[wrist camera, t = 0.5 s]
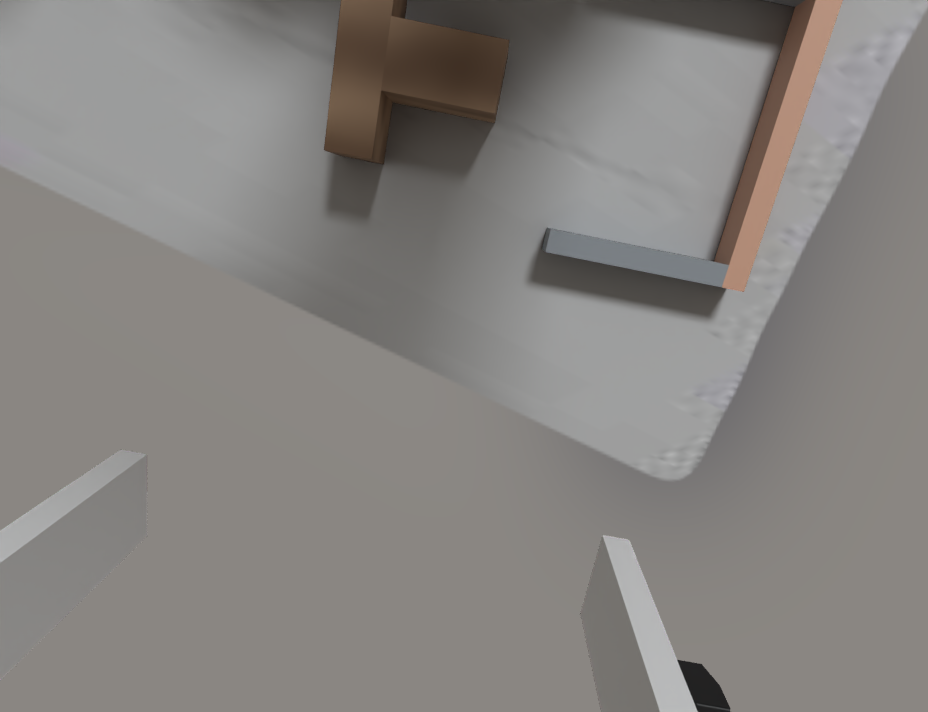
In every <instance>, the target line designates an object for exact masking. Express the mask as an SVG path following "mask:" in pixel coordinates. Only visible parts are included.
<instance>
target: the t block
mask: <svg viewBox="0 0 928 712" xmlns="http://www.w3.org/2000/svg"><path fill="white" fill-rule="evenodd" d="M406 6H407V0H341V6H340V14H339V23H338V32H337V41H336V49H335V58H334V67H333V76H332V85H331V93H330V102H329V111H328V120H327V128H326V137H325V146H324V150H325V151H328V152H331V153H334V154H337V155H340V156H344V157H349V158H354V159H359V160H364V161H369V162H374V163H379V164H384V159H385V152H386V145H387V138H388V131H389V124H390V117H391V110H392V103H397V104H402V105H407V106H412V107H417V108H422V109H427V110H432V111H437V112H442V113H447V114H452V115H457V116H462V117H467V118H472V119H476V120H481V121H486V122H491V123H495V119H496V114H497V109H498V104H499V99H500V93H501V88H502V83H503V78H504V73H505V68H506V62H507V57H508V48H509V40H507V39H502V38H497V37H492V36H487V35H482V34H477V33H472V32H467V31H463V30H458V29H453V28H448V27H443V26H438V25H433V24H428V23H423V22H418V21H413V20H408V19H405V13H406Z"/></svg>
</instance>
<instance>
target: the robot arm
mask: <svg viewBox="0 0 928 712" xmlns="http://www.w3.org/2000/svg"><path fill="white" fill-rule="evenodd" d="M146 537H147V454H143V453H138V452H132V451H127V450H119V451H118V452H116V453H115V454H113V455H112V456H110V457H109V458H107V459H106V460H104V461H103V462H102V463H100V464H98V465H97V466H95V467H94V468H92V469H91V470H89V471H88V472H87V473H85V474H84V475H82V476H81V477H79V478H78V479H76V480H75V481H73V482H72V483H70V484H69V485H67V486H66V487H64V488H63V489H61V490H60V491H58V492H57V493H56V494H54V495H52V496H51V497H50V498H48V499H47V500H45V501H44V502H42V503H41V504H39V505H38V506H36V507H35V508H33V509H32V510H30V511H29V512H27V513H26V514H24V515H23V516H21V517H20V518H18V519H17V520H15V521H14V522H12V523H11V524H10V525H8V526H6V527H5V528H4V529H2V530H1V531H0V680H1V679H2V678H3V677H4V676H5V675H6V674H7V673H8V672H9V671H10V670H11V669H12V668H13V667H14V666H15V665H17V664H18V662H20V661H21V660H22V659H23V658H24V657H25V656H26V655H27V654H28V653H29V652H30V651H31V650H32V649H33V648H34V647H35V646H36V645H37V644H38V643H39V642H40V641H41V640H42V639H43V638H44V637H45V636H46V635H47V634H48V633H49V632H50V631H51V630H52V629H53V628H54V627H55V626H56V625H57V624H58V623H59V622H60V621H61V620H62V619H64V617H66V615H68V614H69V613H70V611H72V610H73V609H74V608H75V607H76V606H77V605H78V604H79V603H80V602H81V601H82V600H83V599H84V598H85V597H86V596H87V595H88V594H89V593H90V592H91V591H92V590H93V589H94V588H95V587H96V586H97V585H98V584H99V583H100V582H101V581H102V580H103V579H104V578H105V577H106V576H107V575H108V574H109V573H110V572H111V571H113V569H115V568H116V566H118V565H119V564H120V563H121V562H122V561H123V560H124V559H125V558H126V557H127V556H128V555H129V554H130V553H131V552H132V551H133V550H134V549H135V548H136V547H137V546H138V545H139V544H140V543H141V542H142V541H143V540H144V539H145V538H146ZM580 614H581V619H582V624H583V629H584V633H585V638H586V643H587V648H588V652H589V657H590V662H591V667H592V671H593V676H594V681H595V685H596V690H597V695H598V700H599V705H600V709H601V712H730V707H729V705H728V703H727V700H726V698H725V696H724V694H723V692H722V690H721V687H720V685H719V684H718V683H717V682H716V681H715V679H714V678H713V677H712V676H711V675H710V674H709V672H708V671H707V670H706V669H705V668H704V667H703V665H702V664H697V663H692V662H686V661H680V660H677V659H676V656H675V654H674V651H673V649H672V646H671V644H670V641H669V639H668V636H667V634H666V631H665V629H664V626H663V623H662V621H661V619H660V616H659V613H658V611H657V609H656V606H655V603H654V601H653V598H652V596H651V593H650V591H649V588H648V586H647V583H646V581H645V578H644V576H643V573H642V571H641V569H640V566H639V563H638V561H637V558H636V556H635V553H634V551H633V548H632V546H631V543H630V541H629V540H628V539H622V538H617V537H611V536H605V535H603V536H602V539H601V542H600V546H599V549H598V553H597V556H596V560H595V563H594V567H593V570H592V574H591V577H590V581H589V584H588V588H587V591H586V595H585V599H584V602H583V606H582V609H581V613H580Z"/></svg>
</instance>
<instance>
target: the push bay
mask: <svg viewBox="0 0 928 712" xmlns="http://www.w3.org/2000/svg"><path fill="white" fill-rule="evenodd" d="M764 1H769V2H774V3H778V4H783V5H788V6H793V7H795V9H794V12H793V15H792V18H791V22H790V25H789V28H788V31H787V34H786V37H785V40H784V43H783V47H782V50H781V53H780V56H779V59H778V62H777V65H776V69H775V72H774V75H773V78H772V81H771V84H770V87H769V90H768V94H767V97H766V100H765V103H764V106H763V109H762V112H761V116H760V119H759V122H758V125H757V128H756V131H755V134H754V137H753V141H752V144H751V147H750V150H749V153H748V156H747V159H746V163H745V166H744V169H743V172H742V175H741V178H740V181H739V185H738V188H737V191H736V194H735V197H734V200H733V203H732V206H731V210H730V213H729V216H728V219H727V222H726V225H725V228H724V232H723V235H722V238H721V241H720V244H719V247H718V250H717V253H716V257H715V260H714V261H709V260H705V259H700V258H695V257H690V256H685V255H680V254H675V253H670V252H665V251H660V250H655V249H650V248H645V247H640V246H635V245H630V244H625V243H620V242H615V241H610V240H605V239H600V238H595V237H590V236H585V235H580V234H575V233H570V232H565V231H560V230H555V229H550V228H547V230H546V234H545V239H544V243H543V247H542V249H543V250H544V251H545V252H548V253H553V254H558V255H563V256H568V257H573V258H578V259H583V260H588V261H593V262H598V263H603V264H608V265H613V266H618V267H623V268H628V269H633V270H638V271H643V272H648V273H653V274H658V275H663V276H668V277H673V278H678V279H682V280H687V281H692V282H697V283H702V284H707V285H712V286H717V287H722V288H727V289H732V290H737V291H742V292H744V290H745V287H746V284H747V281H748V278H749V275H750V272H751V269H752V266H753V263H754V260H755V257H756V254H757V251H758V249H759V246H760V243H761V240H762V237H763V234H764V231H765V228H766V225H767V222H768V219H769V216H770V213H771V210H772V207H773V204H774V201H775V198H776V196H777V193H778V190H779V187H780V184H781V181H782V178H783V175H784V172H785V169H786V166H787V163H788V160H789V157H790V154H791V151H792V148H793V145H794V142H795V140H796V137H797V134H798V131H799V128H800V125H801V122H802V119H803V116H804V113H805V110H806V107H807V104H808V101H809V98H810V95H811V92H812V89H813V87H814V84H815V81H816V78H817V75H818V72H819V69H820V66H821V63H822V60H823V57H824V54H825V51H826V48H827V45H828V42H829V39H830V36H831V33H832V31H833V28H834V25H835V22H836V19H837V16H838V13H839V10H840V7H841V4H842V1H843V0H764Z"/></svg>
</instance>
